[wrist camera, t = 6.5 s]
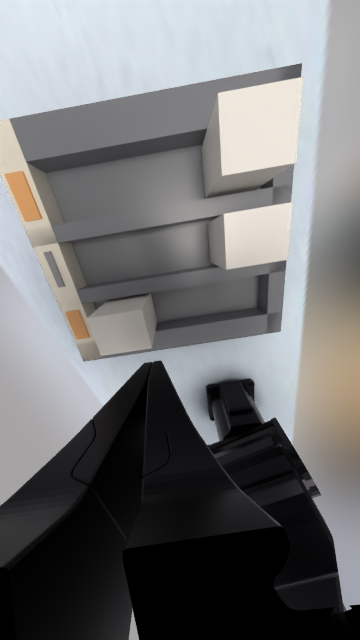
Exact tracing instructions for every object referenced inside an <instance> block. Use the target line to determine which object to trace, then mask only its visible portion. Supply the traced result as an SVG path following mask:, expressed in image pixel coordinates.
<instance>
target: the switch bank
mask: <svg viewBox="0 0 360 640" xmlns="http://www.w3.org/2000/svg"><path fill="white" fill-rule="evenodd" d="M301 69H302V63H301V64H296V65H291V66H286V67H280V68H275V69H270V70H265V71H259V72H254V73H249V74H243V75H238V76H233V77H228V78H222V79H217V80H212V81H207V82H201V83H196V84H191V85H186V86H180V87H175V88H170V89H164V90H159V91H154V92H149V93H143V94H138V95H133V96H128V97H122V98H117V99H112V100H106V101H101V102H96V103H91V104H85V105H80V106H75V107H70V108H64V109H59V110H54V111H49V112H43V113H38V114H33V115H27V116H22V117H17V118H12V119H6V120H1V121H0V175H1V177H2V179H3V182H4V184H5V186H6V188H7V191H8V193H9V195H10V197H11V200H12V202H13V204H14V206H15V209H16V211H17V213H18V215H19V218H20V220H21V222H22V224H23V227H24V229H25V231H26V233H27V235H28V238H29V240H30V242H31V244H32V247H33V249H34V251H35V253H36V256H37V258H38V260H39V262H40V265H41V267H42V269H43V271H44V274H45V276H46V278H47V280H48V282H49V285H50V287H51V289H52V291H53V294H54V296H55V298H56V300H57V303H58V305H59V307H60V309H61V312H62V314H63V316H64V318H65V321H66V323H67V325H68V327H69V330H70V332H71V334H72V336H73V338H74V341H75V343H76V345H77V347H78V350H79V352H80V354H81V356H82V359H83V361H90V360H97V359H103V358H110V357H116V356H123V355H129V354H136V353H143V352H149V351H156V350H162V349H169V348H175V347H182V346H188V345H195V344H202V343H208V342H215V341H221V340H228V339H234V338H241V337H248V336H254V335H261V334H267V333H274V332H280V331H281V320H282V307H283V295H284V282H285V269H286V260H283V261H277V262H271V263H265V264H259V265H252V266H246V267H240V268H234V269H228V270H226V269H224V268H222V267H220V266H217V265H215V264H213V263H211V261H210V249H209V237H208V225H207V224H208V223H209V222H211V221H213V220H214V219H216V218H218V217H219V216H221V215H223V214H226V213H231V212H237V211H243V210H249V209H255V208H261V207H267V206H272V205H278V204H284V203H290V202H291V194H292V182H293V169H294V165H292V166H291V167H289V168H288V169H286V170H285V171H283V172H281V173H280V174H278V175H277V176H275V177H274V178H272V179H271V180H269V181H268V182H266V183H265V184H263V185H262V186H260V187H259V188H257V189H256V190H253V191H248V192H242V193H236V194H230V195H225V196H219V197H213V198H207V199H205V188H204V176H203V163H202V151H201V148H202V145H203V141H204V138H205V135H206V131H207V128H208V125H209V121H210V118H211V115H212V111H213V108H214V104H215V101H216V98H217V94H218V93H220V92H225V91H231V90H236V89H241V88H247V87H252V86H257V85H263V84H268V83H273V82H279V81H284V80H289V79H295V78H300V77H301ZM145 293H151V295H152V300H153V304H154V309H155V313H156V318H157V325H156V330H155V335H154V340H153V345H152V348H150V349H144V350H137V351H131V352H124V353H118V354H111V355H105V356H101V354H100V352H99V349H98V347H97V344H96V342H95V339H94V337H93V334H92V331H91V329H90V326H89V324H88V321H87V318H88V317H89V316H90V315H91V314H92V313H94V312H95V311H96V310H97V309H98V308H99V307H101V306H102V305H103V304H104V303H105V302H106V301H108V300H109V299H114V298H120V297H126V296H133V295H139V294H145Z"/></svg>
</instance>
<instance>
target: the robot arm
mask: <svg viewBox="0 0 360 640" xmlns="http://www.w3.org/2000/svg"><path fill="white" fill-rule="evenodd" d="M249 383H250V384H249ZM206 392H207V401H208V409H209V416H210V420H212V421H214V420H215V423H216V427H217V432H218V436H219V440H220V441H219V442H216V443H214V444H211V445H206V443H205V442H204V440H203V439H202V437H201V436H200V434H199V433H198V431H197V430H196V428H195V427H194V425H193V423H192V421H191V420H190V418H189V416H188V414H187V412H186V410H185V408H184V406H183V404H182V402H181V400H180V398H179V396H178V394H177V392H176V390H175V388H174V386H173V383H172V381H171V379H170V377H169V375H168V373H167V371H166V369H165V367H164V365H163V363H162V361H155V362H153V363H152V362H148V363H144V364H143V365H142V366H141V367H140V368H139V369H138V370H137V371H136V372H135V373H134V374H133V375H132V376H131V378H130V379H129V380H128V381H127V382H126V383H125V384H124V385H123V386H122V387H121V388H120V389H119V390H118V391H117V392H116V394H115V395H114V396H113V397H112V398H111V399H110V400H109V401H108V402H107V403H106V404H105V405H104V406H103V407H102V409H101V410H100V411H99V412H98V413H97V414H96V415H95V416H94V417H93V419H91V420H90V421H89V422H88V423H87V424H86V425H85V426H84V428H82V430H81V431H80V432H79V433H78V434H77V435H76V436H75V437H74V438H73V439H72V440H71V441H70V442H69V443H68V444H67V445H66V446H65V447H64V448H62V449H61V450H60V451H59V452H58V453H57V454H56V456H54V457H53V458H52V459H51V460H50V461H49V462H48V463H47V464H46V465H45V466H44V467H42V468H41V469H40V470H39V471H38V472H37V473H36V474H35V475H34V476H33V477H32V478H31V479H30V480H28V481H27V482H26V483H25V484H24V485H23V486H22V487H21V488H20V489H19V490H18V491H17V492H16V493H15V494H14V495H12V496H11V497H10V498H9V499H8V500H7V501H6V502H4V503H3V504H2V505H1V506H0V640H128V639H129V630H130V623H131V615H132V608H133V612H134V617H135V622H136V626H137V631H138V636H139V640H360V605H351V606H350V607H351V608H352V609H351V610H348V611H347V610H346V608H345V606H344V604H343V602H342V595H341V588H340V581H339V575H338V568H337V561H336V554H335V548H334V541H333V538H332V535H331V533H330V531H329V529H328V526H327V524H326V523H325V520H324V519H323V517H322V515H321V513H320V511H319V510H318V508H317V506H316V504H315V503H314V501H313V499H312V498H314V497H317V496H320V495H321V494H320V492H319V490H318V488H317V486H316V485H315V483H314V481H313V479H312V478H311V476H310V474H309V472H308V471H307V469H306V468H305V466H304V464H303V462H302V461H301V459H300V457H299V455H298V454H297V452H296V451H295V449H294V447H293V445H292V444H291V442H290V441H289V439H288V437H287V436H286V434H285V432H284V431H283V429H282V427H281V426H280V424H279V423H278V421H277V419H276V418H273V419H271V420H270V421H268V422H264V420H263V418H262V416H261V414H260V412H259V410H258V409H257V407H256V405H255V403H254V382H253V380H251V379H249V380H242V381H235V382H228V383H221V384H214V385H208V386H207V387H206Z"/></svg>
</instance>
